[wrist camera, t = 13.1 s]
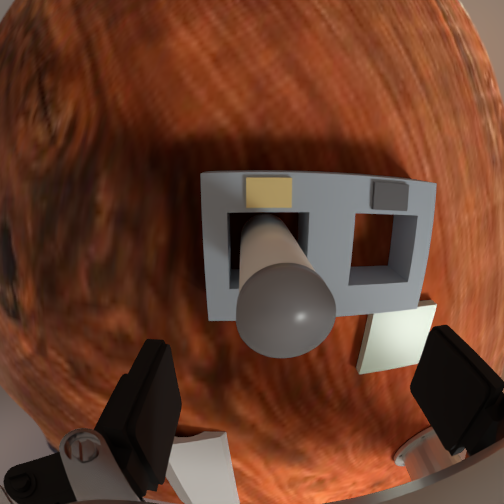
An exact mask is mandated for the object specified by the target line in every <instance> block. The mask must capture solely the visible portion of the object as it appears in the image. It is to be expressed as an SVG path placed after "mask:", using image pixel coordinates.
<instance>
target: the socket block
mask: <svg viewBox="0 0 504 504" xmlns="http://www.w3.org/2000/svg"><path fill="white" fill-rule="evenodd" d="M200 174H201V206H202V229H203V248H204V265H205V280H206V293H207V306H208V318H209V321H236V306H237V298H238V295H239V276H240V269H231V240H230V213H238V212H298V242H297V243H298V245H299V246H300V248H301V249H302V251H303V253H304V254H305V256H306V257H307V259H308V260H309V262H310V264H311V265H312V267H313V268H314V270H315V272H316V273H317V274H319V275H320V277H321V278H322V279H323V280H324V282H325V283H326V285H327V286H328V288H329V290H330V291H331V293H332V295H333V297H334V300H335V304H336V317H339V316H352V315H364V314H374V313H385V312H394V311H403V310H411V309H417V307H418V303H419V298H420V294H421V290H422V285H423V280H424V275H425V270H426V265H427V260H428V254H429V248H430V241H431V234H432V227H433V218H434V209H435V198H436V184H437V183H432V182H426V181H421V180H416V179H409V178H400V177H390V176H379V175H367V174H354V173H338V172H317V171H282V170H239V171H207V172H204V173H200ZM355 213H367V214H394V219H393V229H392V238H391V246H390V254H389V261H388V266H359V267H350V266H351V257H352V247H353V236H354V224H355Z"/></svg>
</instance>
